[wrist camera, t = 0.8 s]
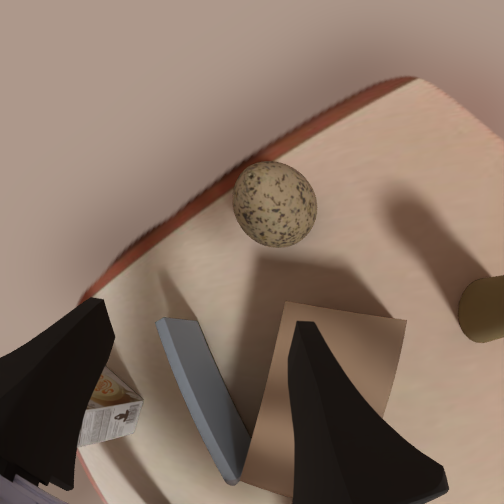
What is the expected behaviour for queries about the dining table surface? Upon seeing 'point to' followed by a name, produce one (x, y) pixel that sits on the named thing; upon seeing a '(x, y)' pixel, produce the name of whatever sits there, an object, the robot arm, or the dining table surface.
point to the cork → (483, 310)
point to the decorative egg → (274, 204)
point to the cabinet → (352, 362)
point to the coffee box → (110, 411)
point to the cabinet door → (205, 395)
